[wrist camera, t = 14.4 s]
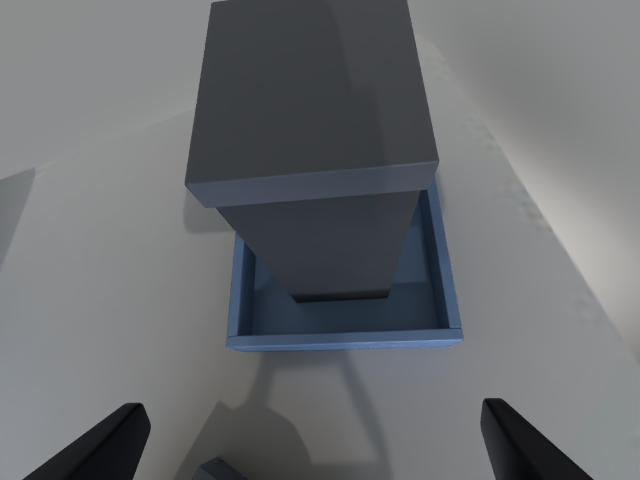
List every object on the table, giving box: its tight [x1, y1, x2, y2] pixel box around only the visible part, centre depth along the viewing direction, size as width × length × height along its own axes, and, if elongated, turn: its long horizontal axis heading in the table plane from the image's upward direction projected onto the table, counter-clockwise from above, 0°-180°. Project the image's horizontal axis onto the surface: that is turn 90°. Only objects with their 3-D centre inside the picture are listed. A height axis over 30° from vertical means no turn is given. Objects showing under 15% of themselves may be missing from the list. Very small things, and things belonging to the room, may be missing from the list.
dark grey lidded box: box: [185, 0, 439, 303], centre depth 15 cm, size 7×6×14 cm
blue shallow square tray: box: [226, 175, 464, 352], centre depth 21 cm, size 12×12×3 cm
